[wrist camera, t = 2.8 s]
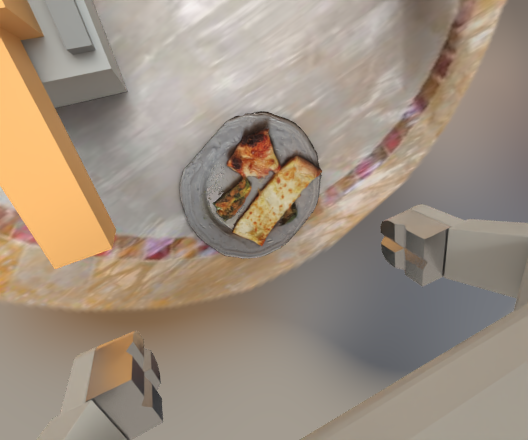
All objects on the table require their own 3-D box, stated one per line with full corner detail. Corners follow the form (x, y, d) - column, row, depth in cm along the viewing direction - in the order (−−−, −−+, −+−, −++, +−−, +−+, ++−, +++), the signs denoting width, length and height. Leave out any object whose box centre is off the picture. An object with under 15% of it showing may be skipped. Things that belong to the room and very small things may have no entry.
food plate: (258, 80, 45) (266, 79, 42) (336, 177, 57) (347, 181, 54) (151, 200, 46) (152, 208, 43) (251, 271, 57) (257, 280, 54)
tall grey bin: (76, -40, 33) (-88, -423, 9) (127, 91, 39) (108, 65, 15) (-25, -29, 30) (-614, -517, 7) (46, 109, 37) (-129, 113, 13)
